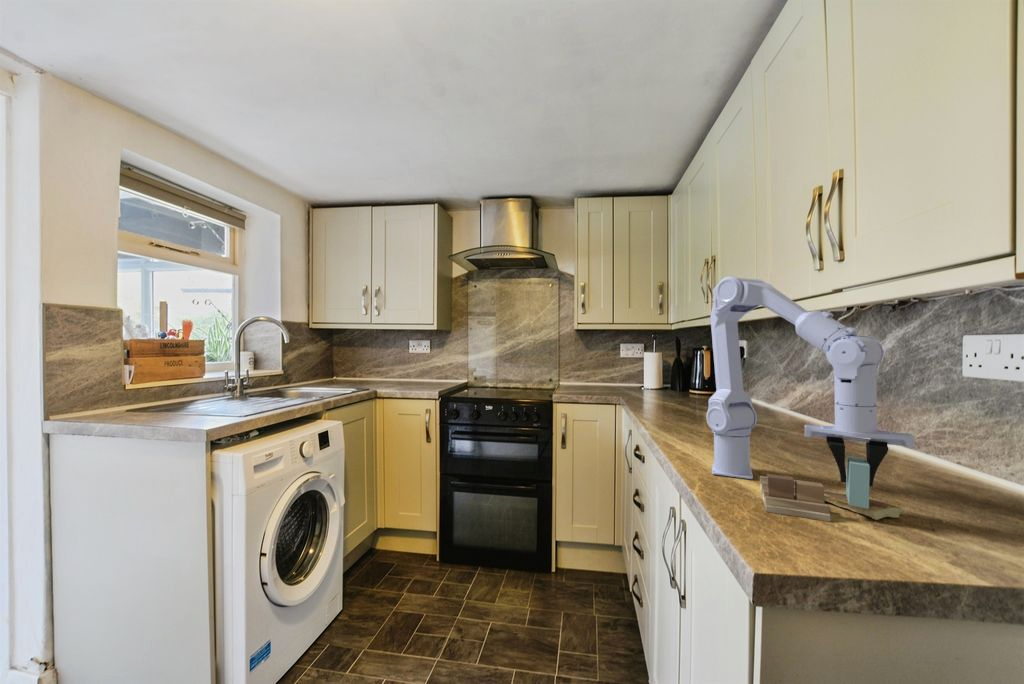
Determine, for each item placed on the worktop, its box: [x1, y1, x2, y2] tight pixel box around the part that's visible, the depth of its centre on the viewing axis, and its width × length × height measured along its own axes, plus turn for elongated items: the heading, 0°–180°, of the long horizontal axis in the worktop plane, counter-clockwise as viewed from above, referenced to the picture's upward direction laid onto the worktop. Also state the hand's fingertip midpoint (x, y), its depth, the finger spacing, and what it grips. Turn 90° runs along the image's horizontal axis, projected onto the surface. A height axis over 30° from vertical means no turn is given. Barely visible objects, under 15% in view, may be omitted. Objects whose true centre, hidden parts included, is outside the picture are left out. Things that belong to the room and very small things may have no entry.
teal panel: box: [845, 455, 870, 509], centre depth 71 cm, size 2×7×7 cm, turn 144°
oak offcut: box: [794, 479, 825, 504], centre depth 71 cm, size 2×4×4 cm, turn 63°
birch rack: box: [759, 475, 831, 523], centre depth 76 cm, size 15×9×2 cm, turn 153°
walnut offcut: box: [766, 473, 795, 500], centre depth 73 cm, size 2×4×4 cm, turn 63°
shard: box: [824, 491, 903, 521], centre depth 74 cm, size 11×8×2 cm
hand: (856, 482), depth 72 cm, fingers open, 3 cm apart
